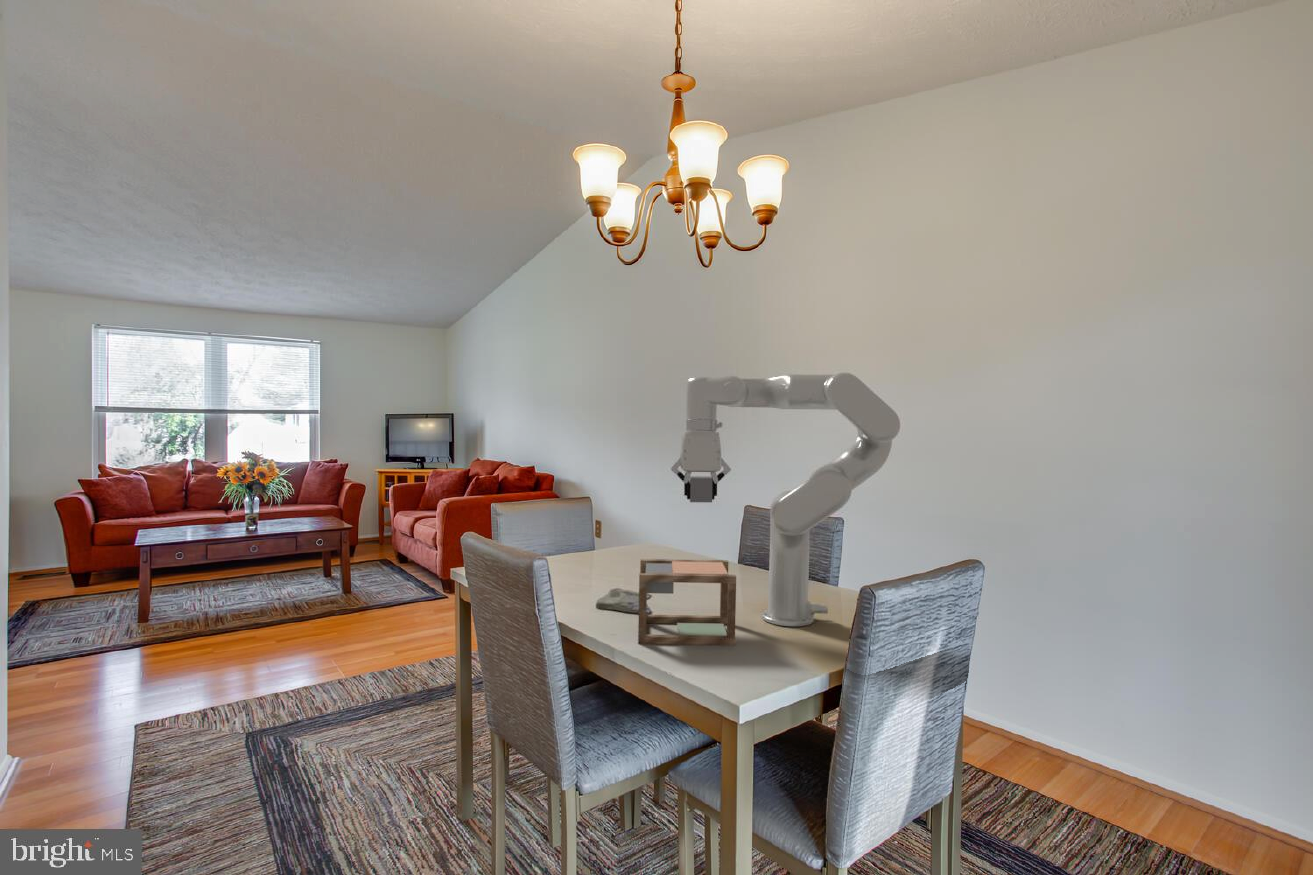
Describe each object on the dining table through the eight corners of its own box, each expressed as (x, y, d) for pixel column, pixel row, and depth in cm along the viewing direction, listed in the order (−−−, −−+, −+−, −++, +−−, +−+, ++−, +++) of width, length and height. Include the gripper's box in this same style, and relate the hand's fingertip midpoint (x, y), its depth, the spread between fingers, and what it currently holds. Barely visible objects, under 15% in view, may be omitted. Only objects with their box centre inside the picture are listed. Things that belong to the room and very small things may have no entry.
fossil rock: (610, 594, 181) (610, 586, 181) (662, 598, 178) (662, 590, 178) (591, 612, 164) (591, 602, 164) (648, 617, 161) (649, 607, 161)
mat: (723, 625, 154) (723, 623, 154) (728, 641, 143) (728, 639, 143) (677, 624, 154) (677, 622, 154) (679, 640, 143) (679, 638, 143)
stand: (638, 643, 140) (639, 574, 140) (639, 620, 156) (640, 558, 156) (734, 645, 141) (736, 576, 140) (726, 622, 157) (727, 560, 156)
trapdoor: (645, 593, 142) (645, 572, 142) (645, 579, 154) (645, 560, 154) (727, 594, 142) (728, 574, 142) (721, 580, 154) (722, 562, 154)
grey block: (710, 499, 165) (710, 476, 165) (712, 502, 160) (712, 478, 160) (689, 499, 165) (689, 476, 165) (690, 502, 160) (690, 478, 160)
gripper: (733, 426, 166) (732, 497, 166) (666, 426, 166) (666, 496, 166) (737, 427, 158) (736, 500, 159) (667, 426, 158) (666, 500, 159)
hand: (700, 498), depth 163 cm, fingers closed on grey block, 5 cm apart
